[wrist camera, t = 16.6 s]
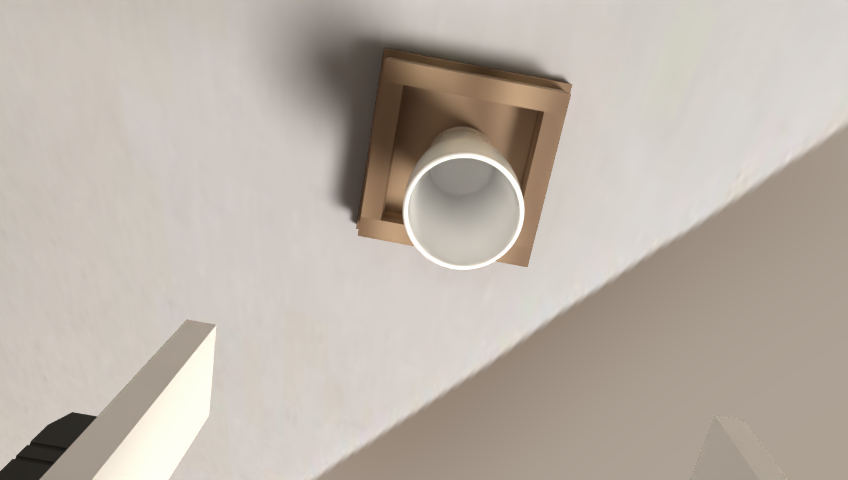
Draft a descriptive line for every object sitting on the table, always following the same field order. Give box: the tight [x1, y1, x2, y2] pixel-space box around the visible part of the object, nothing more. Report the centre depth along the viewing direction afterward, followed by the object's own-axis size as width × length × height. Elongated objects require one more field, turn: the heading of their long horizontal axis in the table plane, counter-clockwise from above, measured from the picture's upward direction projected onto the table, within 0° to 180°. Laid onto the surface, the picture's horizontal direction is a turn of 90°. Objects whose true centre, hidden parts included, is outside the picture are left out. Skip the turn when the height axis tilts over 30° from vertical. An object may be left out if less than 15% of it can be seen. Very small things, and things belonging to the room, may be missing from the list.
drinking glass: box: [402, 126, 524, 270], centre depth 41 cm, size 7×7×15 cm
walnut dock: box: [356, 48, 572, 267], centre depth 47 cm, size 14×14×4 cm
